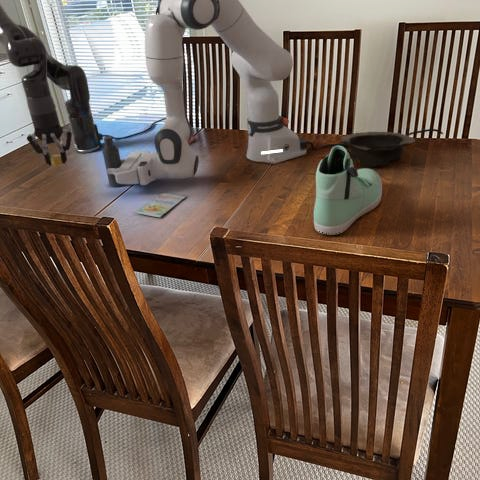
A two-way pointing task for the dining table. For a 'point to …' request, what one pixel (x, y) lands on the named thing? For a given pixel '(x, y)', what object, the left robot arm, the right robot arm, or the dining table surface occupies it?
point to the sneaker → (343, 192)
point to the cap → (56, 160)
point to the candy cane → (191, 139)
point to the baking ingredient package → (160, 205)
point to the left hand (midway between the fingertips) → (57, 163)
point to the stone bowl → (376, 147)
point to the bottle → (111, 159)
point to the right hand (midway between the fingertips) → (111, 166)
